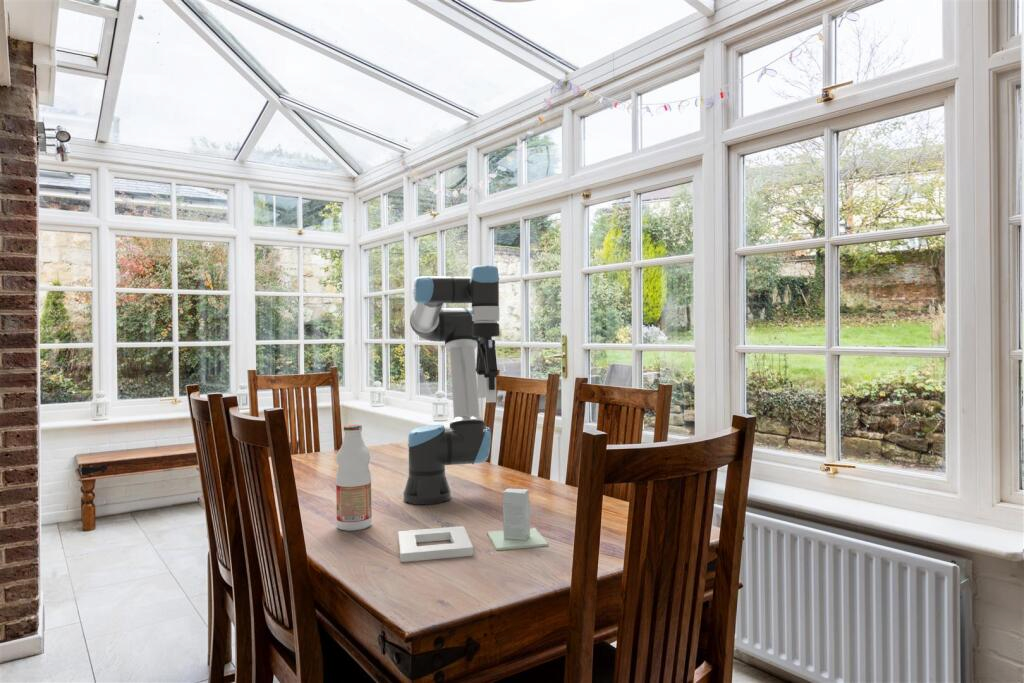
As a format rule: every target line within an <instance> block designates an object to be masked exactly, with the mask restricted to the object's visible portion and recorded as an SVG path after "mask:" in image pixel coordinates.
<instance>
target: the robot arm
mask: <svg viewBox="0 0 1024 683" xmlns="http://www.w3.org/2000/svg"><path fill="white" fill-rule="evenodd" d="M470 271H471V273H470V276H433V275H432V276H431V275H425V276H417V277H416V278H414V282H413V298H414V301H415V303H416V305H415V306H416V307H414V308H413V309H412V311H411V313H410V317H409V324H410V327H411V330H412V331H413V332H414V333H415V334H416V335H417V336H419V337H420V338H422V339H424V340H426V341H430V342H444V347H445V349H447V350H448V351H449V357H450V360H449V361H450V374H451V376H450V378H451V392H452V408H453V409H452V410H453V420H452V421H450V423H449V428H447V429H446V427H445V425H443V424H430V425H424V426H419V427H416V428H413V429H412V430H410V432H409V433H408V440H407V441H408V442H407V447H408V477H407V480H406V483H405V484H406V485H405V486H404V487H405V488H404V491H403V501H404V502H405V501H406V502H405V503H407V502H409V503H408V504H411V503H414V504H413V505H421V504H425V505H435V504H434V503H436V504H441V503H445V502H447V501H450V500H451V499H452V496H451V494H452V493H451V492H452V491H451V489H450V485H449V482H448V480H447V476H446V466H454V465H455V466H457V465H468V464H469V465H470V464H472V465H474V464H480V463H481V464H482V463H485V462H486V461H487V460H488V458H489V455H490V450H491V444H492V442H491V441H492V432H491V428H490V427H489V426H486V425H485V423H486V422H485V420H484V419H482V418H481V417H480V408H479V407H480V405H479V403H480V402H479V399H484V398H485V403H489V404H490V403H497V376H498V375H499V370H498V363H497V362H498V361H497V353H496V340H495V339H493V337H495V338H496V337H499V336H500V324H499V323H498V322H499V321H500V297H499V296H500V295H499V294H500V293H499V292H500V290H499V289H500V288H499V286H500V284H499V283H500V277H499V268H498V267H497V266H496V265H487V264H486V265H485V264H483V265H475V266H472V267H471V270H470ZM443 304H471V308H470V307H469V308H467V307H447V308H445V307H443ZM476 348H477V349H476ZM475 350H476V351H475ZM444 501H445V502H444Z"/></svg>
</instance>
